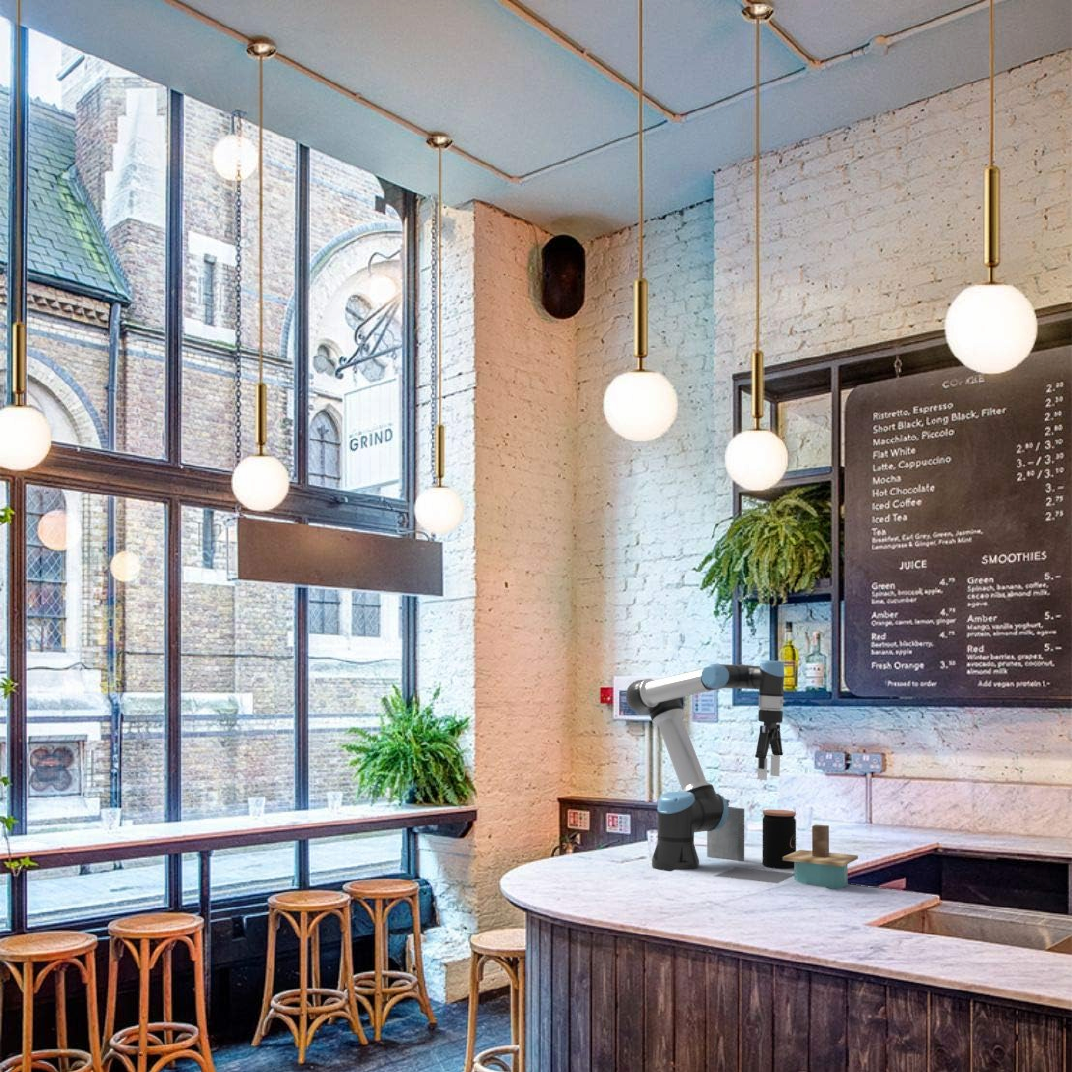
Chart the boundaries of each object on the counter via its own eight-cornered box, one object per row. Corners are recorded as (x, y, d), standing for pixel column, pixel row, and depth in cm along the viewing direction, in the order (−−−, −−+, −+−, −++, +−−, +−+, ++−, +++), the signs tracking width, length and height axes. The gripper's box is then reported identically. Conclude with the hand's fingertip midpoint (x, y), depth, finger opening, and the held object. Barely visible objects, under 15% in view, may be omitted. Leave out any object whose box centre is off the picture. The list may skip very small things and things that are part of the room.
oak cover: (782, 860, 345) (782, 826, 347) (799, 853, 361) (799, 820, 362) (843, 866, 337) (842, 831, 338) (857, 858, 352) (857, 825, 353)
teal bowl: (789, 884, 345) (789, 860, 346) (803, 877, 358) (803, 854, 359) (839, 889, 338) (839, 865, 339) (852, 882, 351) (851, 858, 352)
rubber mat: (713, 877, 353) (713, 875, 353) (735, 869, 370) (735, 867, 370) (777, 885, 343) (777, 883, 343) (796, 875, 361) (796, 873, 361)
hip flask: (746, 862, 385) (746, 801, 387) (737, 863, 382) (737, 801, 385) (711, 855, 397) (711, 796, 400) (703, 856, 395) (703, 797, 397)
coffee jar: (796, 871, 368) (796, 814, 370) (762, 869, 370) (762, 812, 372) (795, 866, 379) (795, 810, 381) (762, 864, 381) (762, 808, 383)
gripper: (770, 711, 352) (768, 782, 350) (793, 709, 373) (791, 775, 372) (746, 709, 355) (744, 779, 353) (770, 707, 377) (768, 773, 375)
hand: (768, 777), depth 362 cm, fingers open, 13 cm apart
